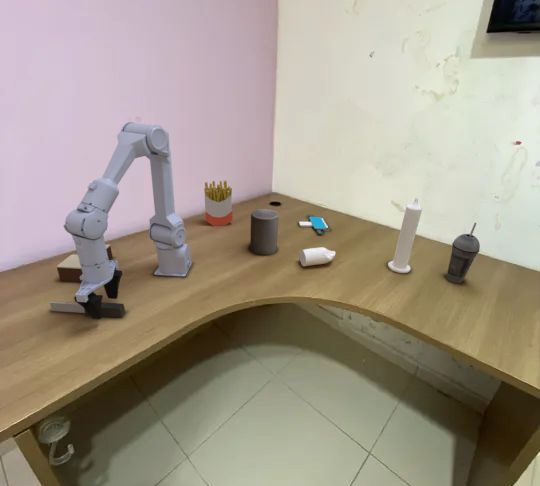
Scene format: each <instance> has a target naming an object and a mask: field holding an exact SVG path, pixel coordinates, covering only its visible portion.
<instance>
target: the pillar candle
mask: <svg viewBox="0 0 540 486" xmlns="http://www.w3.org/2000/svg"><path fill="white" fill-rule="evenodd" d="M279 216H280V214H279V213H278V212H277V211H276V210H273V209H270V208H258V209H254V210H253V211H251V213H250V240H249V241H250V242H249V243H250V247H249V250H250V252H252V253H253V254H256V255H259V256H269V255H273V254H274V253H276V251H277V247H278V235H279V233H278V232H279V230H278V229H279Z"/></svg>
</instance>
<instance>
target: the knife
mask: <svg viewBox="0 0 540 486" xmlns="http://www.w3.org/2000/svg"><path fill="white" fill-rule="evenodd" d="M49 306H50V308H51V311H52V312H61V313H62V312H63V313H78V314H79V313H81V314H85V316H87V317H91V316H90V315H89V313H88V312H87V311H86V310H85V308H84V307H82V306H81V305H80V304H78V303H77V302H64V301H63V302H62V301H61V302H60V301H49ZM101 309H102V317H104V318H119V319H120V318H122V319H123V317H124V316H125V314H126V307H125V304H124V303H119V302H118V303H117V302H104V301H103V302H102V301H101ZM102 317H101V318H102Z"/></svg>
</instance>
